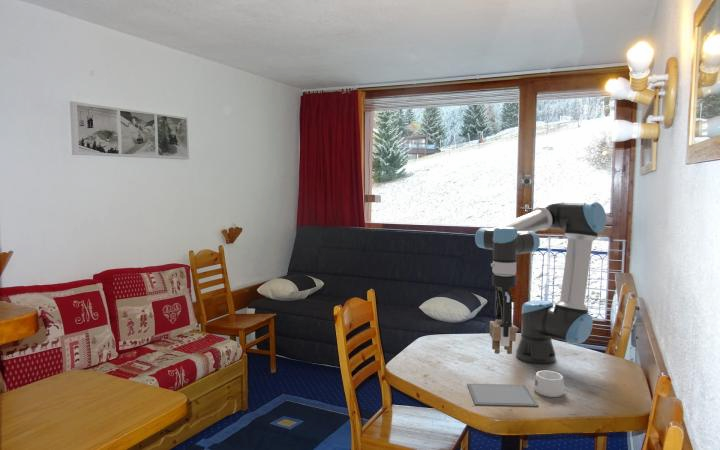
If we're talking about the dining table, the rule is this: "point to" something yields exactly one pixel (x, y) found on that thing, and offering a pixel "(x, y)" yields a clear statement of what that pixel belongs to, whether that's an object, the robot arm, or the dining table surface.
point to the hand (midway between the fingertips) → (502, 341)
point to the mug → (549, 383)
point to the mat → (501, 395)
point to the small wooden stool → (496, 336)
